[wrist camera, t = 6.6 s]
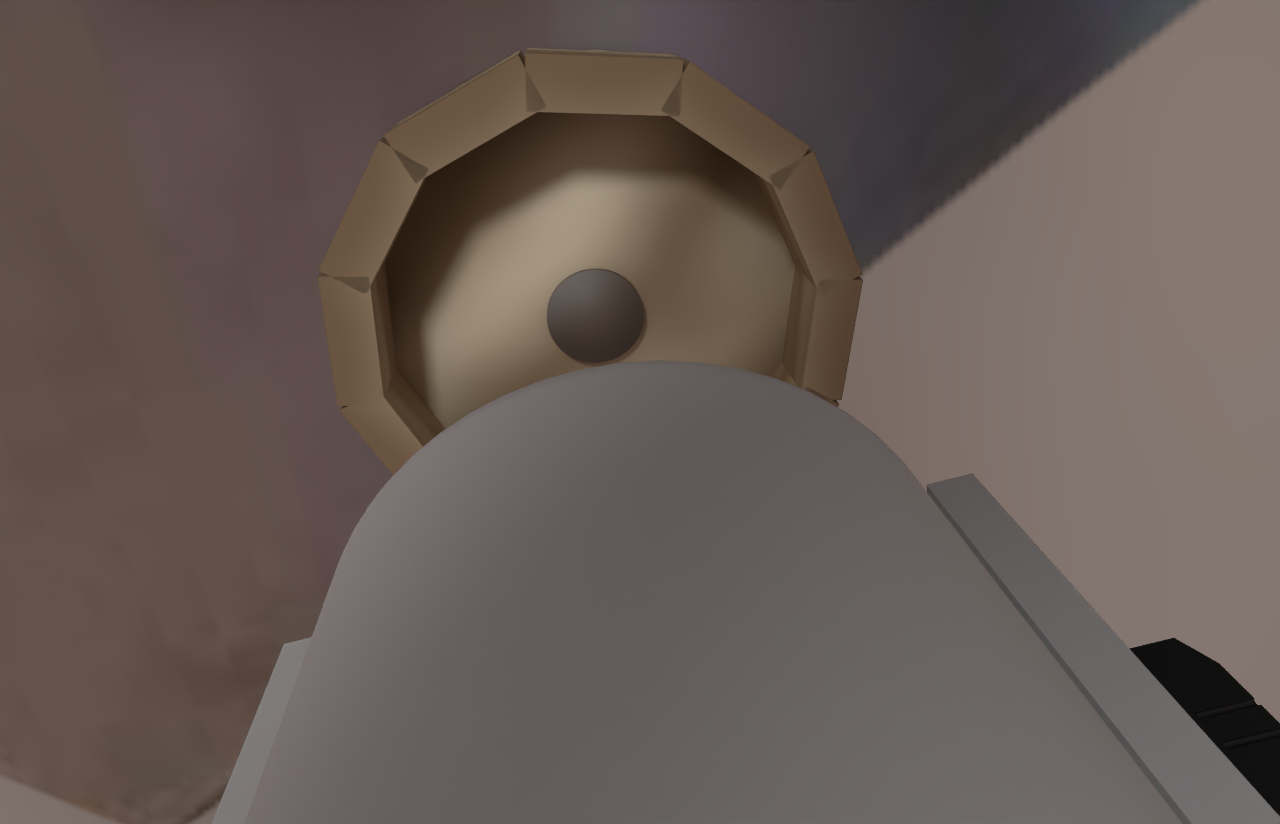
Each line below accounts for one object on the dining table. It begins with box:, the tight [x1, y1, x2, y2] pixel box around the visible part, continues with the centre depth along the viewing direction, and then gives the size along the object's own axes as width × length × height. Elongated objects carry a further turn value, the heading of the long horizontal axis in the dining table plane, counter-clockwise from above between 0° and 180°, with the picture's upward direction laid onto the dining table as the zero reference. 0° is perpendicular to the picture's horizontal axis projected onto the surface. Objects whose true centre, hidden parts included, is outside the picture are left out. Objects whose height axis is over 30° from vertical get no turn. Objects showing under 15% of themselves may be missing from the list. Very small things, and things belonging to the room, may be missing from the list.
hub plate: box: [318, 48, 863, 475], centre depth 25 cm, size 16×16×3 cm
